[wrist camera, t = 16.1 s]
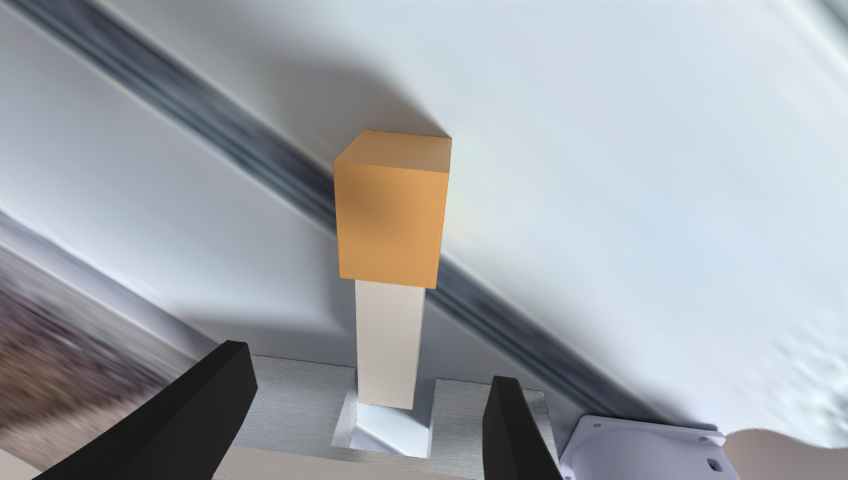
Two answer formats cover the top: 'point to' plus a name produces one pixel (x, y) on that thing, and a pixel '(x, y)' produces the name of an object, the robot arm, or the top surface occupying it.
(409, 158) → the plug
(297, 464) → the grey long block
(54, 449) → the top surface
